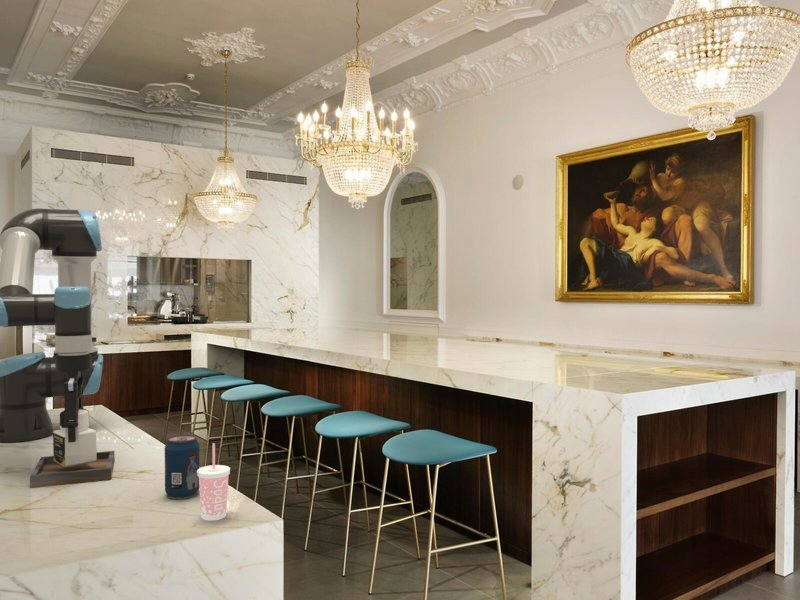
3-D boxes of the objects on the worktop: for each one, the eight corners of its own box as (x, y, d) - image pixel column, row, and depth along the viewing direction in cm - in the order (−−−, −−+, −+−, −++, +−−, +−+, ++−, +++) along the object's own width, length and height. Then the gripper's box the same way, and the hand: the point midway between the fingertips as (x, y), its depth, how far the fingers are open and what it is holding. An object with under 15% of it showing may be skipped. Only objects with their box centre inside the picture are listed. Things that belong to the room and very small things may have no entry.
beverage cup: (199, 524, 120) (198, 449, 119) (195, 512, 125) (195, 441, 125) (232, 519, 122) (232, 445, 122) (227, 508, 128) (227, 438, 127)
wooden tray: (41, 467, 155) (41, 456, 155) (114, 460, 161) (114, 450, 161) (30, 487, 140) (29, 476, 140) (111, 479, 146) (110, 468, 146)
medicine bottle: (53, 461, 150) (52, 409, 150) (85, 455, 155) (84, 405, 155) (64, 467, 145) (63, 414, 145) (97, 460, 150) (96, 409, 150)
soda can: (172, 488, 140) (172, 433, 139) (204, 489, 139) (203, 433, 139) (159, 499, 133) (159, 441, 132) (193, 500, 132) (192, 442, 132)
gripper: (61, 348, 158) (62, 440, 159) (48, 359, 138) (49, 464, 139) (95, 347, 161) (96, 437, 162) (87, 358, 140) (88, 461, 141)
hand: (74, 449), depth 150 cm, fingers closed on medicine bottle, 9 cm apart
